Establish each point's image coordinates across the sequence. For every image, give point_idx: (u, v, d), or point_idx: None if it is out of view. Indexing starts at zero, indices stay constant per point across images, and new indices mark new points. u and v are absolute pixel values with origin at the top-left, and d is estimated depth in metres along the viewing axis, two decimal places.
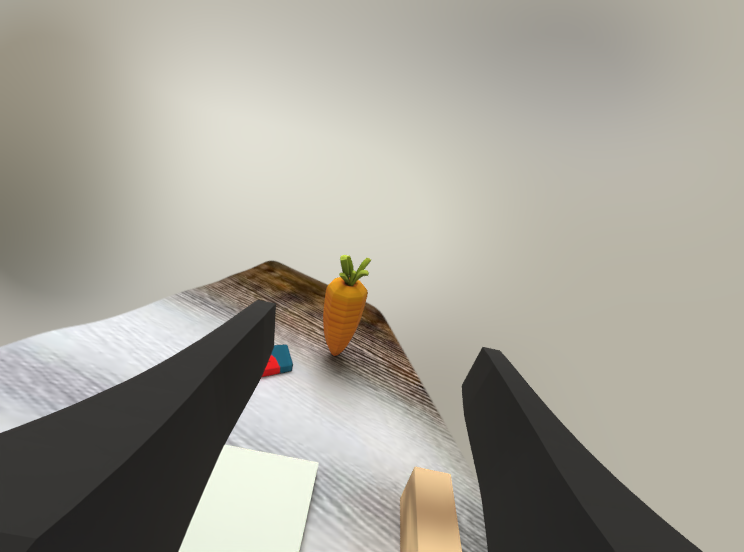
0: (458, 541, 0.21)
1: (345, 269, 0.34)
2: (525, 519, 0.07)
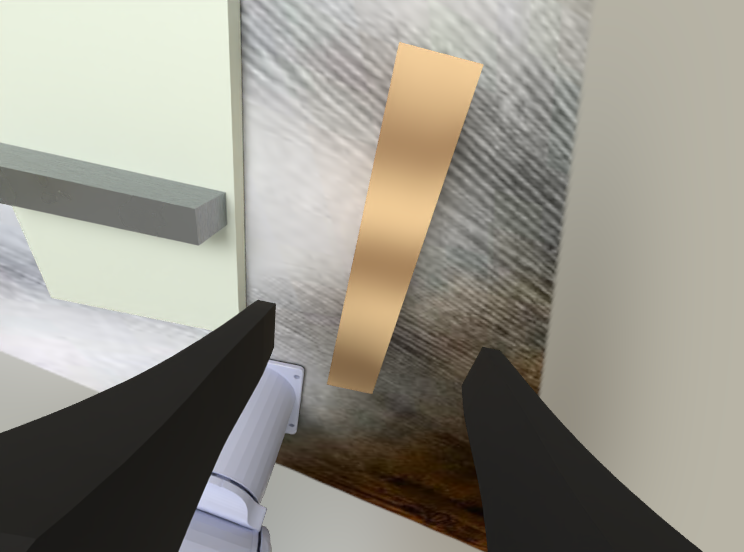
0: (437, 189, 0.13)
1: None
2: (525, 519, 0.07)
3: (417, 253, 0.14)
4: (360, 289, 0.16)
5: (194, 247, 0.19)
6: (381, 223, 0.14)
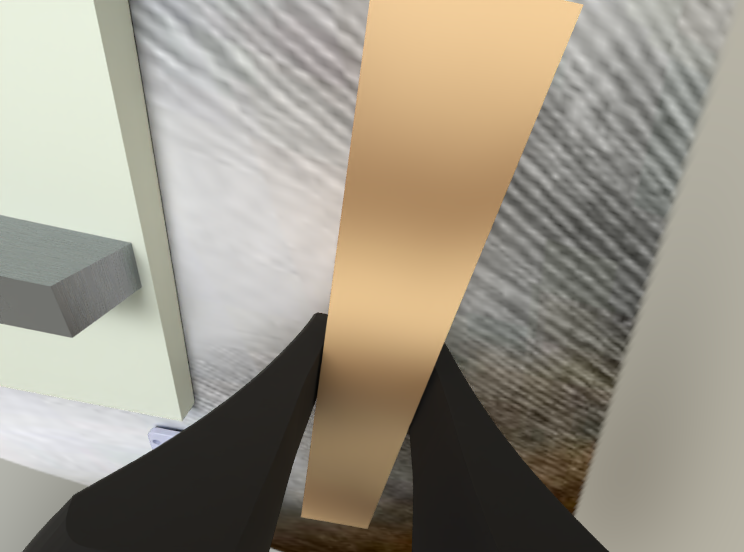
0: (467, 270, 0.07)
1: None
2: (437, 502, 0.07)
3: (429, 367, 0.08)
4: (335, 413, 0.09)
5: None
6: (363, 324, 0.08)
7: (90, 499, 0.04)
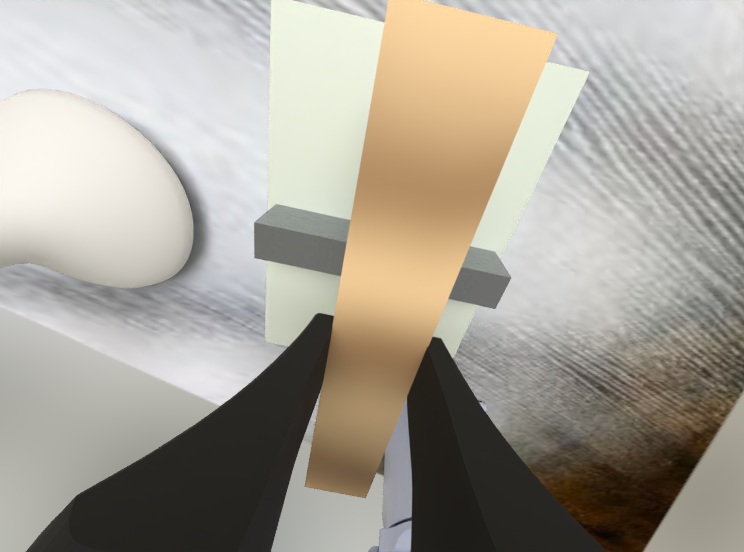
0: (460, 254, 0.08)
1: None
2: (436, 502, 0.07)
3: (426, 342, 0.09)
4: (341, 385, 0.10)
5: None
6: (368, 302, 0.09)
7: (92, 501, 0.04)
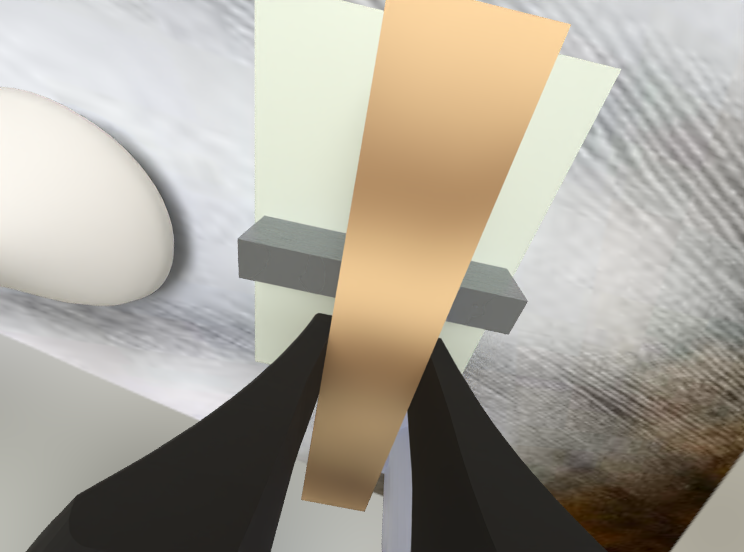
0: (464, 261, 0.07)
1: None
2: (436, 502, 0.07)
3: (428, 353, 0.09)
4: (338, 396, 0.10)
5: None
6: (367, 310, 0.08)
7: (93, 501, 0.04)
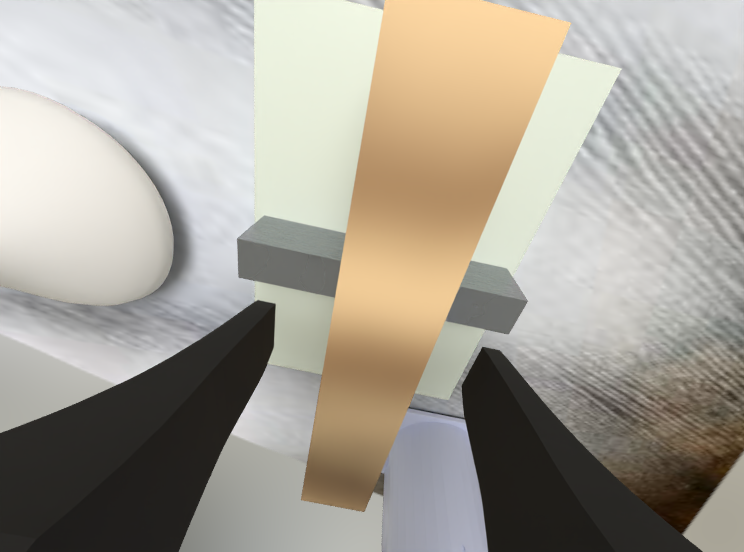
0: (464, 260, 0.07)
1: None
2: (525, 519, 0.07)
3: (428, 352, 0.09)
4: (338, 396, 0.10)
5: None
6: (366, 310, 0.08)
7: None
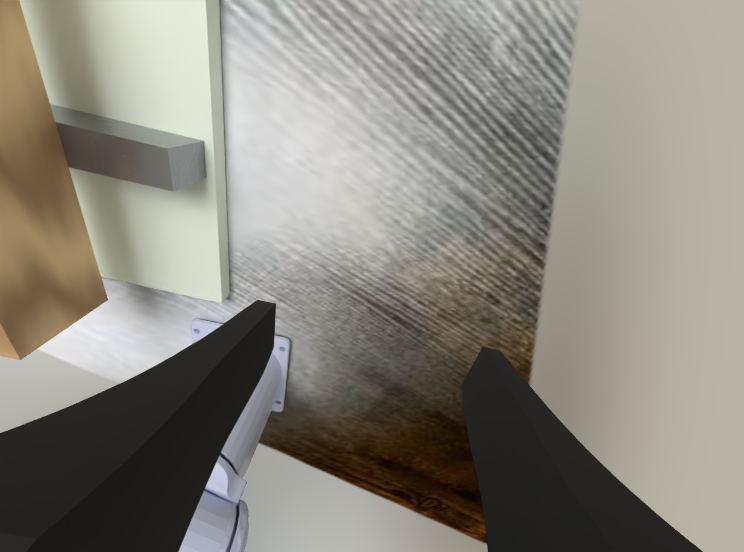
0: None
1: None
2: (525, 519, 0.07)
3: None
4: None
5: (172, 203, 0.18)
6: None
7: None
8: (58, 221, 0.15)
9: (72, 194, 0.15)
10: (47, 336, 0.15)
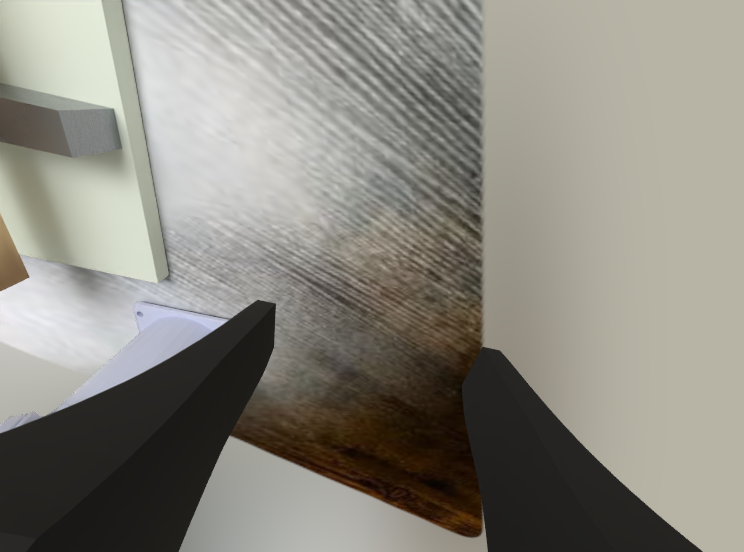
0: None
1: None
2: (525, 519, 0.07)
3: None
4: None
5: (93, 177, 0.18)
6: None
7: None
8: None
9: None
10: None
